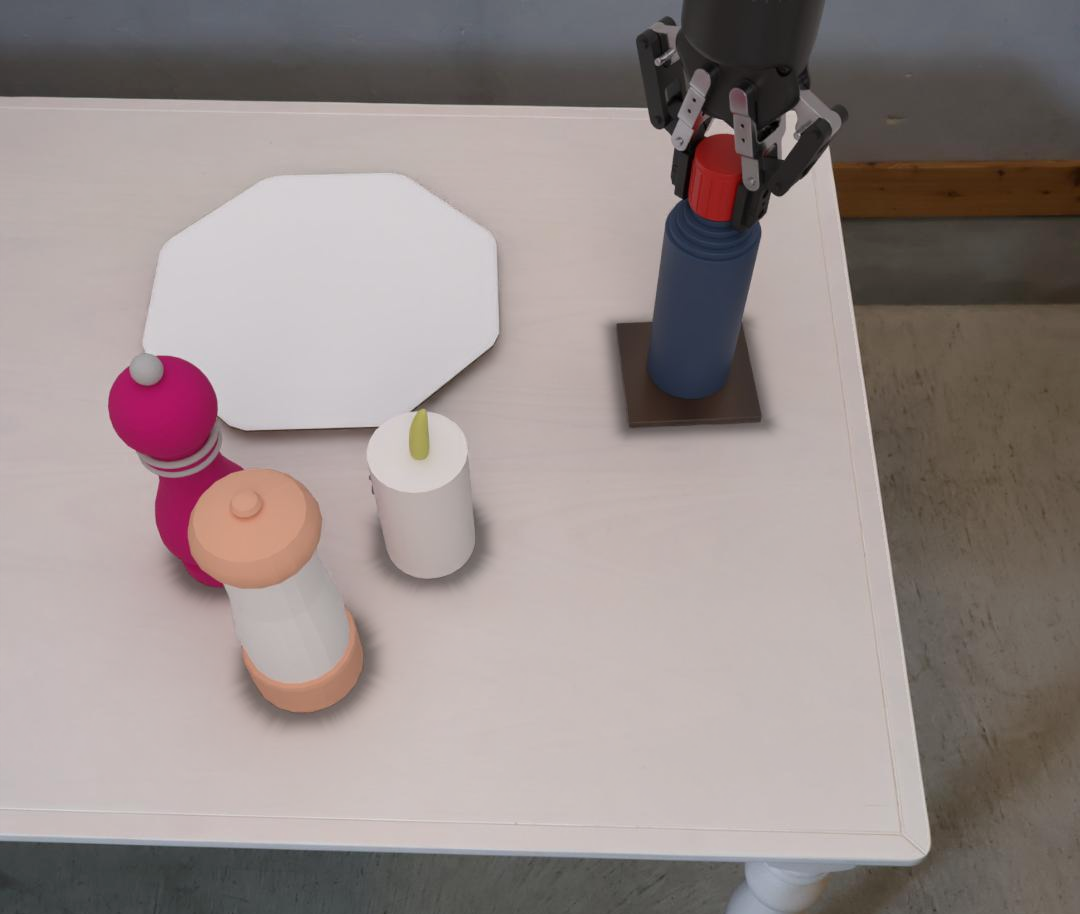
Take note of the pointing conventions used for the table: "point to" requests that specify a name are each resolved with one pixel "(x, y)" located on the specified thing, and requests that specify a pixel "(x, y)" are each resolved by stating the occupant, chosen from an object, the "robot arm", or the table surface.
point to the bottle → (699, 302)
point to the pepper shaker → (278, 587)
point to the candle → (423, 493)
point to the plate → (326, 300)
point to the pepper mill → (172, 441)
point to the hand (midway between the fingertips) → (716, 206)
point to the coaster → (666, 410)
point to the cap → (715, 177)
